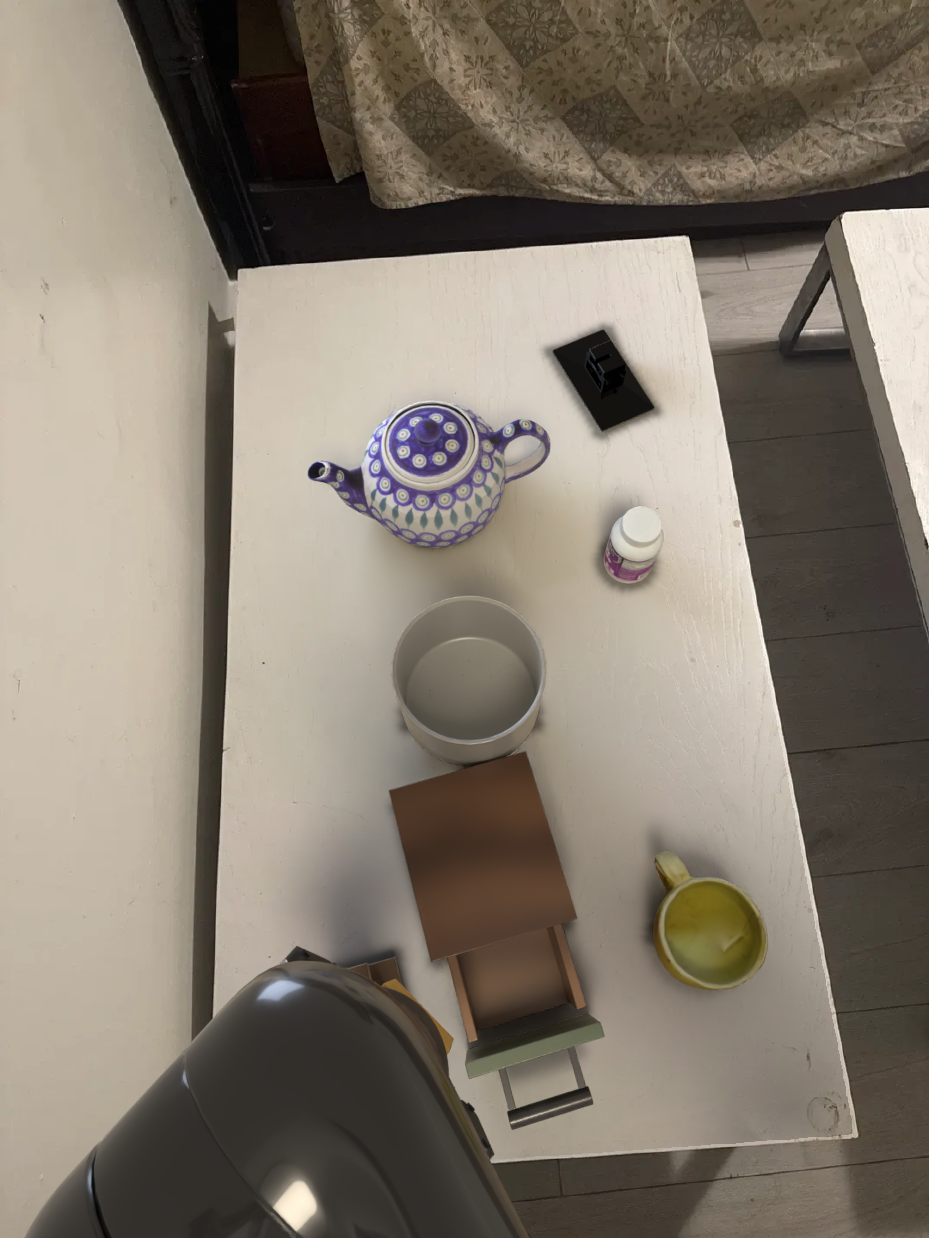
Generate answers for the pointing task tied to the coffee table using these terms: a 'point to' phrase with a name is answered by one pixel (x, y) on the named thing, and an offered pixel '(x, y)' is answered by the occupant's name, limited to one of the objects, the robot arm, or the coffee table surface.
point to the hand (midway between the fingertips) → (394, 1043)
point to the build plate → (603, 380)
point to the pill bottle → (634, 545)
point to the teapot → (433, 472)
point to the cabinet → (480, 856)
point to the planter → (469, 679)
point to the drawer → (524, 1012)
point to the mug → (707, 929)
